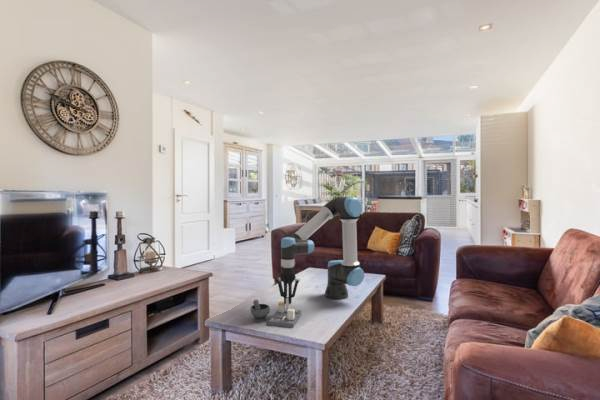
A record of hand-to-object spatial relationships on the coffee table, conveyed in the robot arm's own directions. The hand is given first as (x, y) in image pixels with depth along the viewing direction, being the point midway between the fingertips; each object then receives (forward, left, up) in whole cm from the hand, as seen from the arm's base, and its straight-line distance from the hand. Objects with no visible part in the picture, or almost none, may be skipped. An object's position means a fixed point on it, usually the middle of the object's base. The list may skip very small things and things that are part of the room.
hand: (287, 309), depth 173 cm
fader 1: (+3, 0, -1) cm, 4 cm away
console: (0, +5, -4) cm, 6 cm away
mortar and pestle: (+13, +10, -4) cm, 16 cm away
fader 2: (-4, +9, -1) cm, 10 cm away
